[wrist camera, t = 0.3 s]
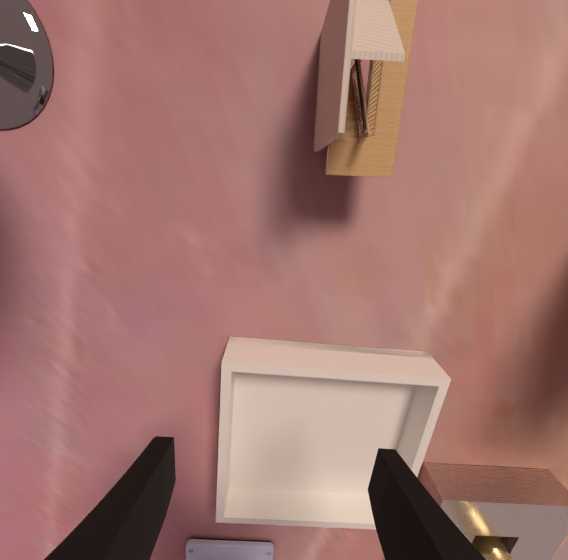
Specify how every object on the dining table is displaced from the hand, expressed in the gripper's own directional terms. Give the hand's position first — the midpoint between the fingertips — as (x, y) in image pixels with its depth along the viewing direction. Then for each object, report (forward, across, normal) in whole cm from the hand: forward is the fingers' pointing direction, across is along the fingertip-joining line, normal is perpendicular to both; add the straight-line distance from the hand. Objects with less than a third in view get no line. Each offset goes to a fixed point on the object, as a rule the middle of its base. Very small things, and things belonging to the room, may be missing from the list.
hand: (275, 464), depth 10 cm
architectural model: (+11, -2, -14) cm, 18 cm away
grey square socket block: (+10, -19, +17) cm, 27 cm away
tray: (+10, -4, +8) cm, 13 cm away
